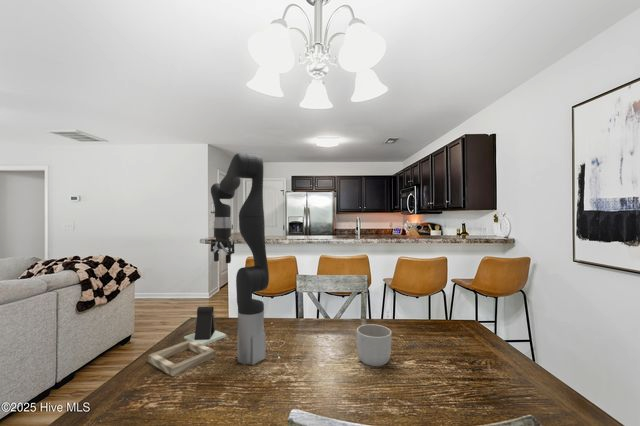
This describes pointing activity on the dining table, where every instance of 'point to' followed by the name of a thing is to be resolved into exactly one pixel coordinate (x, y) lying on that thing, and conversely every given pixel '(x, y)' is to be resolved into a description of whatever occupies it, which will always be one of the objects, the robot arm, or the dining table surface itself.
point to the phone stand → (204, 323)
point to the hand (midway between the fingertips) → (222, 262)
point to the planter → (374, 344)
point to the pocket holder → (175, 369)
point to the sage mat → (215, 336)
